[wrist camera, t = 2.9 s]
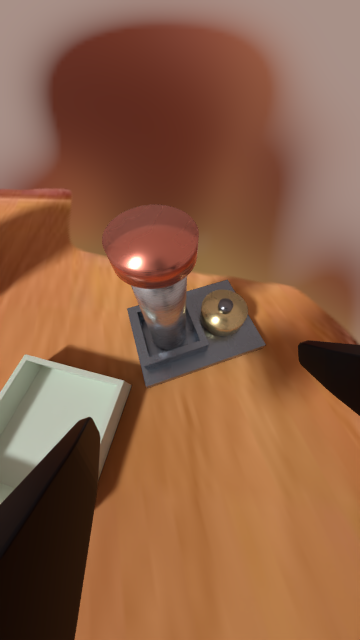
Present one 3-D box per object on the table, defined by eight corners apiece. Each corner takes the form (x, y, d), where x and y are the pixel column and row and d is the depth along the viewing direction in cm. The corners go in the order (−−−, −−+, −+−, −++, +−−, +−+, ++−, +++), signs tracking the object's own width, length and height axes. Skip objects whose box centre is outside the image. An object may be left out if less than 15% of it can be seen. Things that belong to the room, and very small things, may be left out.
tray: (84, 518, 16) (64, 539, 13) (-25, 477, 17) (-63, 488, 14) (131, 385, 21) (124, 380, 18) (44, 361, 22) (24, 354, 19)
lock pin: (185, 359, 21) (186, 278, 9) (140, 348, 21) (84, 260, 9) (194, 318, 23) (206, 210, 11) (154, 310, 24) (123, 199, 12)
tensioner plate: (261, 348, 22) (276, 335, 19) (147, 388, 20) (140, 382, 17) (225, 285, 27) (232, 264, 23) (129, 313, 25) (120, 295, 21)
